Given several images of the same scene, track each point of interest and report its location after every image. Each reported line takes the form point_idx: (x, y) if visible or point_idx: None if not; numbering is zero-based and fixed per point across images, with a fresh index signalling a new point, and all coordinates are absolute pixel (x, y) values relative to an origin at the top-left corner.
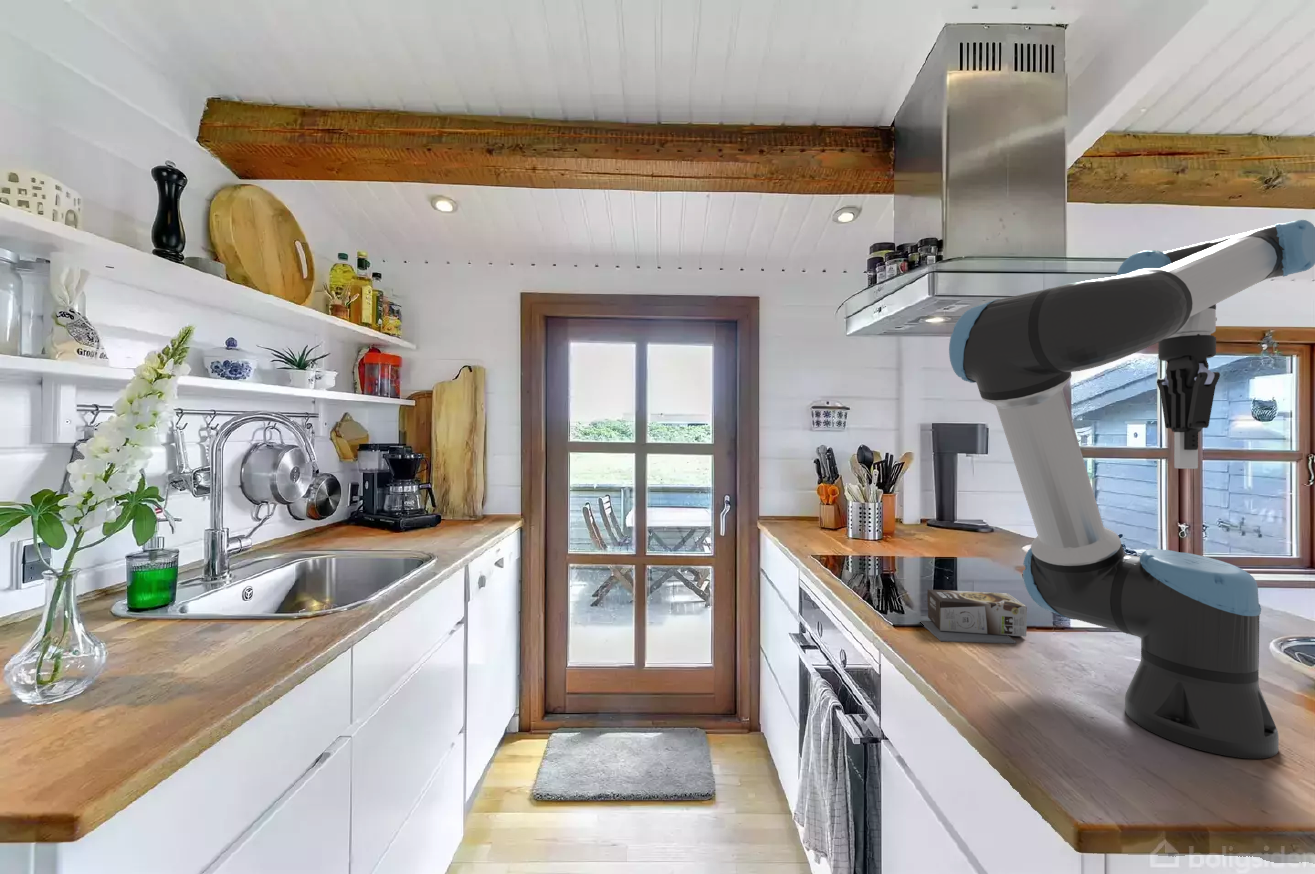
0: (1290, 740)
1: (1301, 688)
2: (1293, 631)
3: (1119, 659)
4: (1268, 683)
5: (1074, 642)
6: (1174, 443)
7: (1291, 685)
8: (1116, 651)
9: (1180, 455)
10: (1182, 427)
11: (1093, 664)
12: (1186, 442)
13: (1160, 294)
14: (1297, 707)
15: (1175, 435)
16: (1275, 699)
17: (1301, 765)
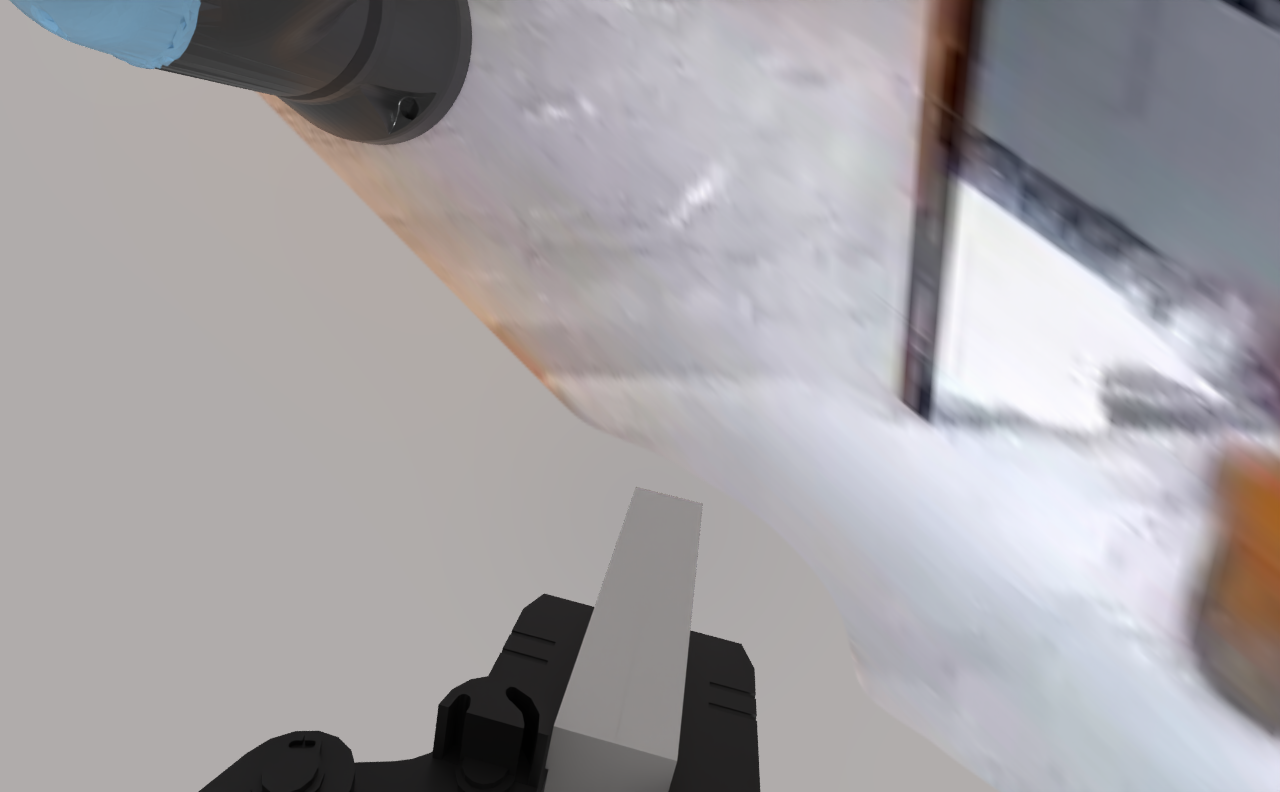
0: (358, 175)
1: (571, 407)
2: (881, 706)
3: (705, 139)
4: (589, 368)
5: (827, 98)
6: (687, 642)
7: (583, 403)
8: (759, 174)
9: (617, 549)
10: (468, 773)
11: (670, 40)
12: (539, 649)
13: None
14: (487, 316)
15: (656, 712)
16: (516, 308)
17: (278, 110)
